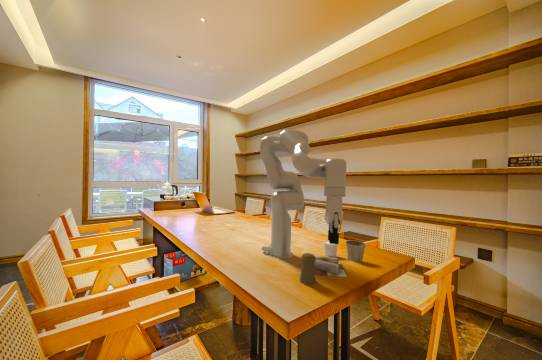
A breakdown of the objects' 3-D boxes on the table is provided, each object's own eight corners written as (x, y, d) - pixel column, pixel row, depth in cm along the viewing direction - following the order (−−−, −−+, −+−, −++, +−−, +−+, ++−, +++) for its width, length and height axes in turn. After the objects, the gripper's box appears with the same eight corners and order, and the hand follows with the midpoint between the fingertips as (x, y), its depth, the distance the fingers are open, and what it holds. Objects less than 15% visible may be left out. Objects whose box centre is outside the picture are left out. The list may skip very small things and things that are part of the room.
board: (303, 277, 91) (303, 266, 91) (302, 263, 105) (302, 254, 105) (348, 280, 89) (348, 269, 89) (341, 266, 103) (342, 257, 103)
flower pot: (367, 266, 104) (368, 246, 104) (345, 264, 106) (346, 245, 106) (363, 259, 114) (364, 241, 113) (343, 257, 115) (344, 239, 115)
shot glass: (329, 260, 110) (329, 245, 110) (319, 255, 117) (320, 241, 116) (340, 258, 114) (340, 243, 114) (330, 253, 120) (330, 240, 120)
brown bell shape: (297, 280, 88) (298, 251, 87) (313, 280, 88) (314, 251, 88) (301, 288, 82) (301, 257, 81) (318, 288, 82) (319, 257, 82)
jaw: (302, 265, 99) (302, 256, 99) (305, 263, 101) (305, 254, 101) (335, 274, 91) (336, 264, 90) (338, 272, 93) (338, 262, 93)
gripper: (322, 190, 95) (320, 236, 95) (326, 193, 78) (325, 248, 79) (341, 191, 94) (339, 237, 94) (350, 194, 78) (348, 249, 78)
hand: (333, 241), depth 86 cm, fingers open, 3 cm apart
